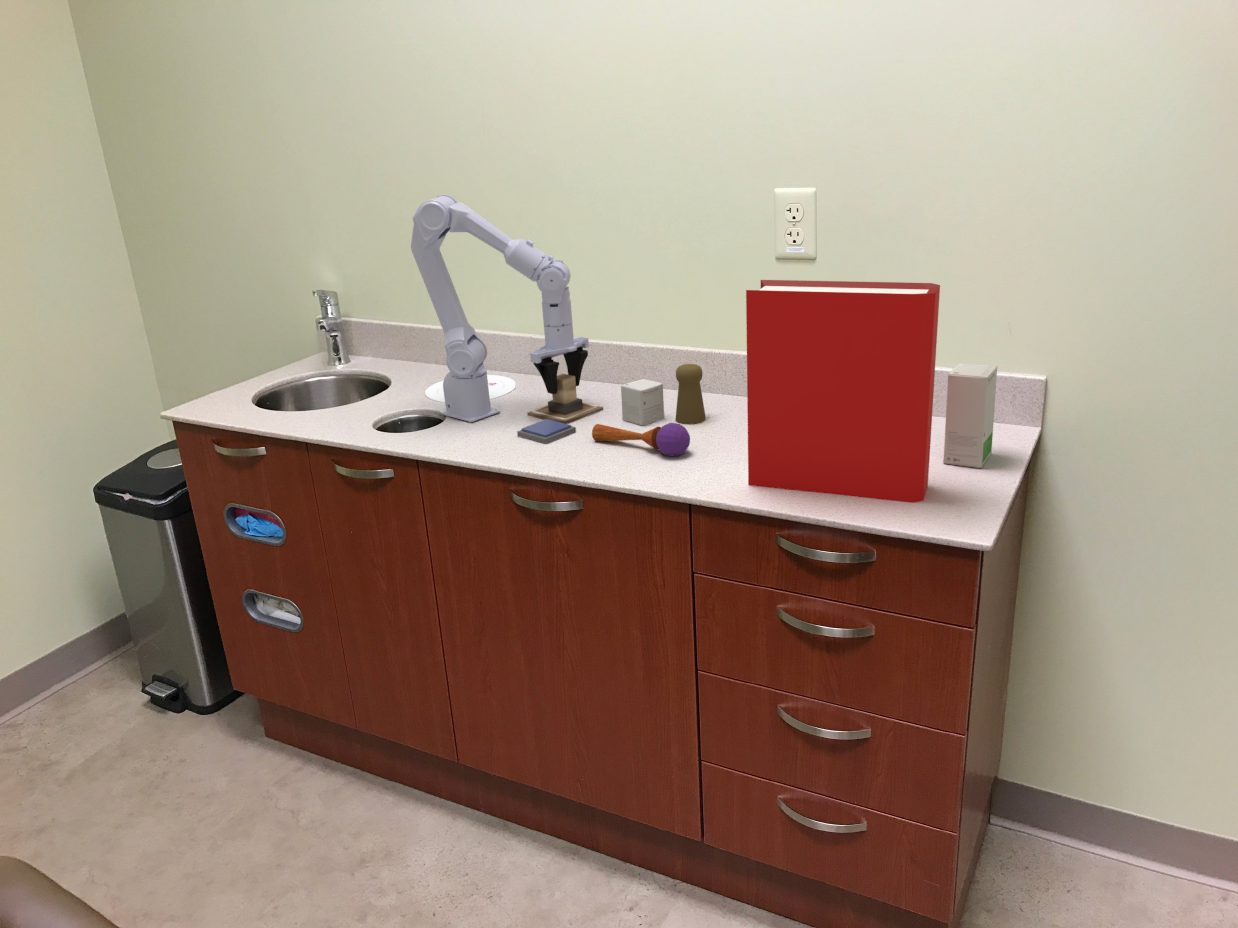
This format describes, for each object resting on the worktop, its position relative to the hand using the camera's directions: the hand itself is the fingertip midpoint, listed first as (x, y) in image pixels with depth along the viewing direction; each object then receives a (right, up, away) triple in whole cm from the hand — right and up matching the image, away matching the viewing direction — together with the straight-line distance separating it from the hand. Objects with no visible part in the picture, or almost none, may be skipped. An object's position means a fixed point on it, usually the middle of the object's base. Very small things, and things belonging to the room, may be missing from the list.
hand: (563, 389), depth 197 cm
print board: (0, -5, +2) cm, 5 cm away
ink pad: (-3, -10, -10) cm, 14 cm away
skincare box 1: (+16, -7, -5) cm, 18 cm away
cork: (+25, -7, -7) cm, 27 cm away
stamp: (0, -4, +2) cm, 4 cm away
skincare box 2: (+70, -15, -34) cm, 79 cm away
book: (+47, -19, -41) cm, 65 cm away
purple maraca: (+15, -13, -20) cm, 28 cm away
